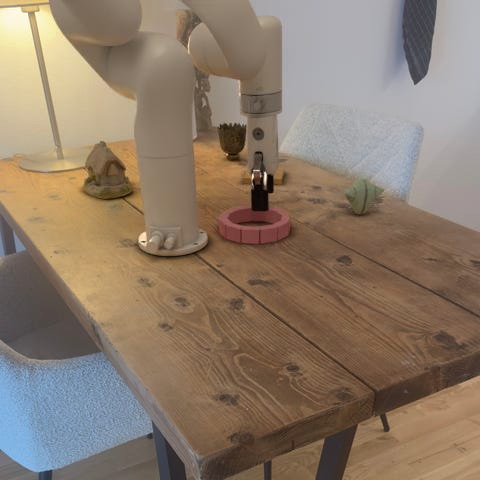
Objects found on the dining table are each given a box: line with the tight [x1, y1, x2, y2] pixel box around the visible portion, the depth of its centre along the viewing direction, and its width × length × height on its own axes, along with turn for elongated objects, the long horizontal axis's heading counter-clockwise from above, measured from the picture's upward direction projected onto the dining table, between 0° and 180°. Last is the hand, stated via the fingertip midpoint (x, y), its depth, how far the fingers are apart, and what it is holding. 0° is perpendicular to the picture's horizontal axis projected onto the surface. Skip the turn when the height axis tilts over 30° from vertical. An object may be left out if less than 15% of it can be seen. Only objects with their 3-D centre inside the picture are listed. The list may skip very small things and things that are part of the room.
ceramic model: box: [82, 140, 134, 200], centre depth 125 cm, size 14×11×10 cm
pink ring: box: [218, 205, 292, 245], centre depth 107 cm, size 13×13×3 cm
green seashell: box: [344, 177, 385, 216], centre depth 111 cm, size 8×4×7 cm, turn 103°
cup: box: [216, 122, 247, 162], centre depth 145 cm, size 8×7×8 cm
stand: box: [242, 167, 286, 185], centre depth 129 cm, size 9×9×13 cm
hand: (263, 201), depth 110 cm, fingers open, 9 cm apart
